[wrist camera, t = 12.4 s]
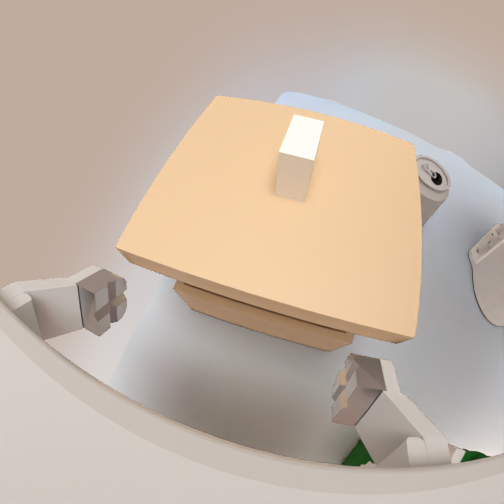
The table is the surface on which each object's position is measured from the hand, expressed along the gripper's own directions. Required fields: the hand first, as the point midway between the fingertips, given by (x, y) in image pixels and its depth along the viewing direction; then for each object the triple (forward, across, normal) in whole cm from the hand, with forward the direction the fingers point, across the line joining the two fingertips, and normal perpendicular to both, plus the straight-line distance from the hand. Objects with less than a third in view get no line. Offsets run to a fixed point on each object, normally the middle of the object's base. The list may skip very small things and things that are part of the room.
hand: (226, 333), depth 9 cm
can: (+37, -17, -2) cm, 40 cm away
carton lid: (+14, 0, -3) cm, 15 cm away
